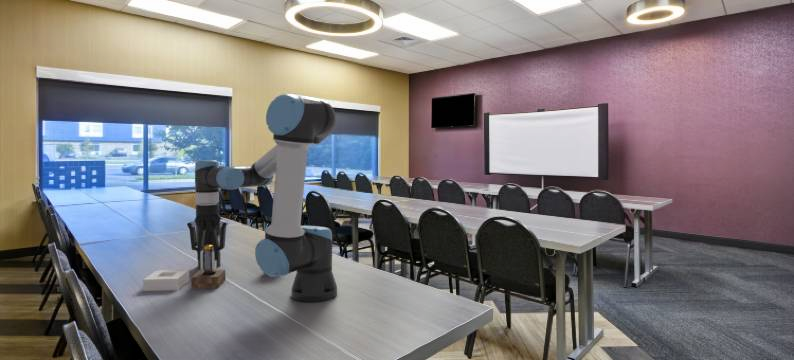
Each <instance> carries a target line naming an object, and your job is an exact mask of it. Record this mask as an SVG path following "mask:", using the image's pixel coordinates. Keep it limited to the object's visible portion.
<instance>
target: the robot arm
mask: <svg viewBox="0 0 794 360" xmlns="http://www.w3.org/2000/svg"><path fill="white" fill-rule="evenodd" d="M265 113H266V115H265V122H266V125H267V128H268V130H269V132H271V133H272V134H273V137H272V138H273V139H272V140H273V141H274V143H275V145H274V146H273V147H272V148H271V149H270V150H269V151H267V152H266V153H265V154H264V155H263V156H261V157H260V158H259V159H257V161H255V162H254V163H253V164H252V165H244V166H243V165H242V166H240V165H239V166H237V165H236V166H219V165H220V164H219V161H218V160H215V159H203V160H202V159H199V160H196V161H195V162H194V163H195V164H194V165H195V166H194V167H195V169H194V185H195V188H194V189H195V204H196V205H195V217H194V218H195V219H194V220H192V221H189V222H187V224H186V225H187V227H188V229H189V240H190V246H191V247H190V248H191V250H192V251H196V254H197V253H198V258H197V262H198V261H201V269H200V270H204V253H203V251H202V250H203V244H204V238H205V232H206V230H210V233H211V237H212V242H213V247H214V251H213V252H212V270H217V268H218V267H217V261H216V260H218V259H219V250H221V251H222V250H223V249H224V248H225V246H226V233H227V227H228V224H229V222H228V221H225V220H223V219H222V220H221V218H222V217H221V218H220V216H221V215H220V204H219V202H220V189H223V190H228V191H229V190H237V189H240V188H251V187H253V188H254V187H264V186H268V185H270V184H271V183H272V182H273V180H274V191H273V199H272V201H273V202H272V212H271V213H272V214H271V222H270V225H269V226H267V228H265V230H264V231H265V232H264V238H263V239H261V240H260V241H258V243H257V244H256V245H255V247H254V248H255V249H254V251H255V252H254V255H255V260H256V263H257V265H258V266H259V268H260V270H261V271H262V272H263V273H264V274H265V275H266V276H268V277H272V278H275V277H281V276H286V275H288V274H290V273H291V274H292V273H294V272H296V273H295V277H294V280H293V284H292V286H291V292H290V293H291V294H290V296H291V298H292V299H293V300H296V301H298V302H304V303H305V302H307V303H318V302H319V303H320V302H324V301H329V300H332V299H333V298H335V297H336V296H337V294H338V286H337V282H336V280H335V277H334V274H333V273H334V272H333V232H332V230H331V229H330V228H329V227H325V226H319V225H317V226H316V225H301V223H302V222H301V221H302V213H303V201H304V194H305V193H304V192H305V181H306V180H305V179H306V170H307V162H308V161H307V160H308V150H309V148H310V147H311V146H313V145H318V144H319V145H320V143H321V142H322V141H324V140H326V139H327V138H328V137H329V136H330V135H331V134H332V132H333V130H334V129H335V127H336V122H337V116H336V113H335V110H334V108H333V106H332V105H331V104H330V103H329V102H328V101H326V100H325V99H321V98H319V97H310V96H305V95H298V94H290V93H288V94H287V93H285V94H284V93H283V94H280V95H278V96H276V97H275V98H274V99H273V100H272V101H271V102H270V103H269V105H268V108H267V110H266V112H265ZM274 175H275V176H274ZM274 177H275V179H274ZM219 215H220V216H219ZM219 223H220V227H221V231H220V245H219V243H218V237H217V232H216V231H217V230H216V227H217V225H218V224H219ZM196 224H197V225H198V226H199V228H200V231H199V233H200V234H199V240H198V246H197V238H196Z"/></svg>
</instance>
